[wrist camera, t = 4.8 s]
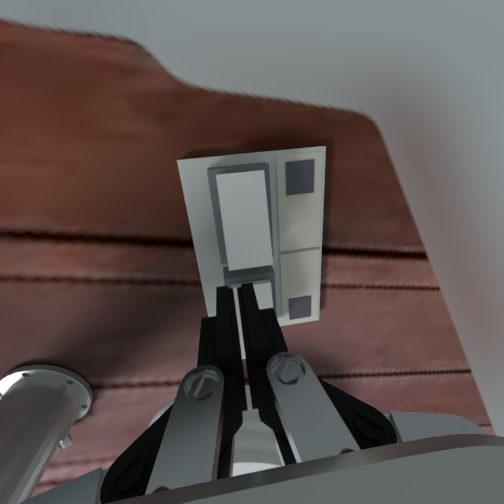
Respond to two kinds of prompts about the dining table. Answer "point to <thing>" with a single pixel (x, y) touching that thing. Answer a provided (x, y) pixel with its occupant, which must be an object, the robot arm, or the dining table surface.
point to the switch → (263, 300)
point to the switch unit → (280, 222)
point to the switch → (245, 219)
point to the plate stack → (249, 442)
